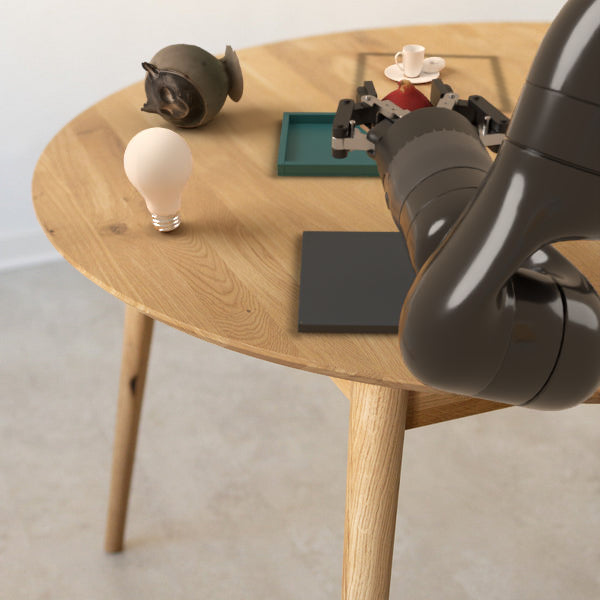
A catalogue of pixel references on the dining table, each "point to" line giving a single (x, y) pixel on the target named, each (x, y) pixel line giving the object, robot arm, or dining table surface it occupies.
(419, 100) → the onion
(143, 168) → the light bulb
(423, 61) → the teacup and saucer
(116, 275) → the dining table surface
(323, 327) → the mat
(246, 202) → the dining table surface
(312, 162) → the tray
